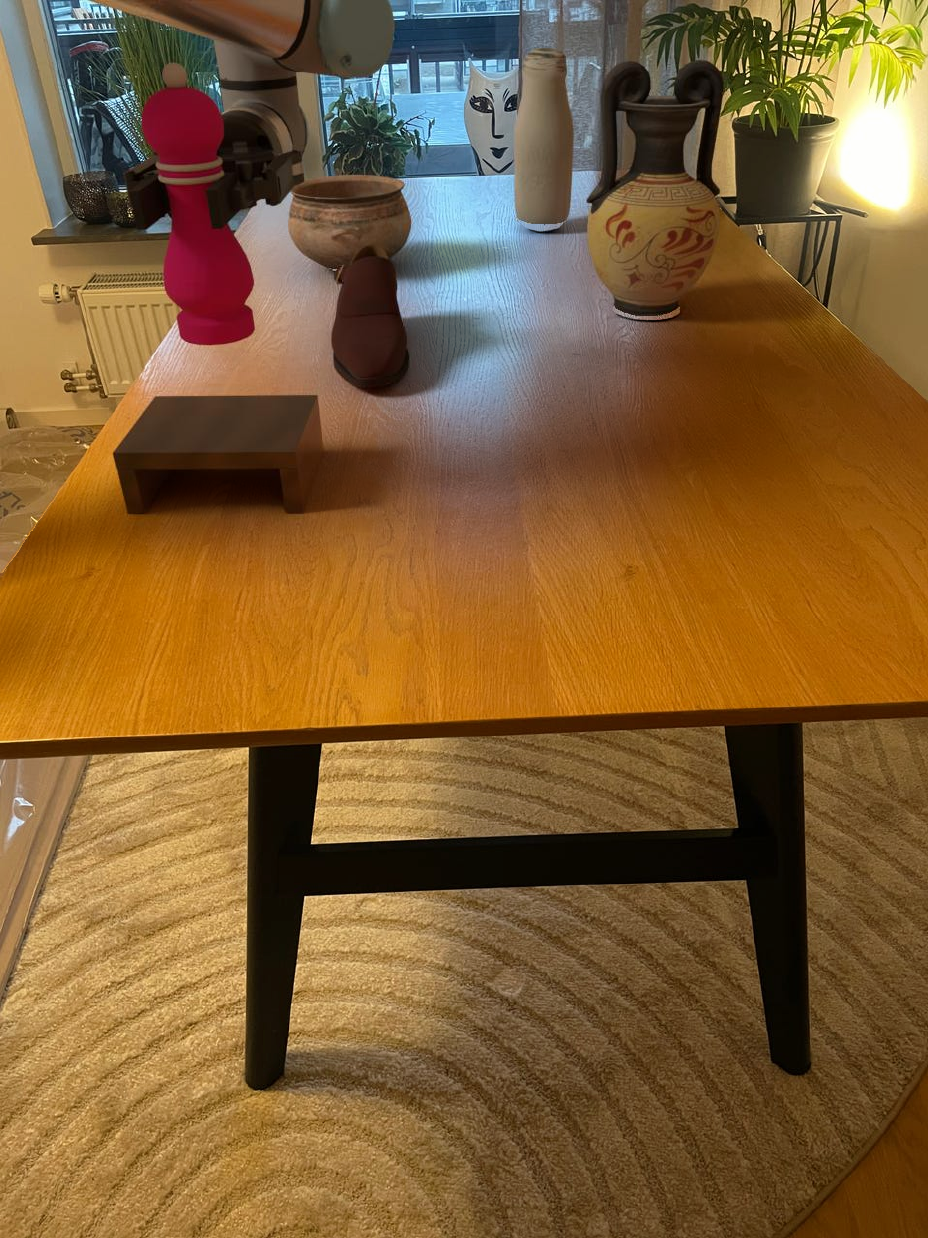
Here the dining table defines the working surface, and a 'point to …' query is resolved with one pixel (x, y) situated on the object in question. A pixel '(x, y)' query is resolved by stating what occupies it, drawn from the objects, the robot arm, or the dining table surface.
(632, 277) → the amphora
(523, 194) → the tan bottle
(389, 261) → the dress shoe
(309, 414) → the shelf
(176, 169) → the pepper mill
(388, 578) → the dining table surface
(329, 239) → the cooking pot
